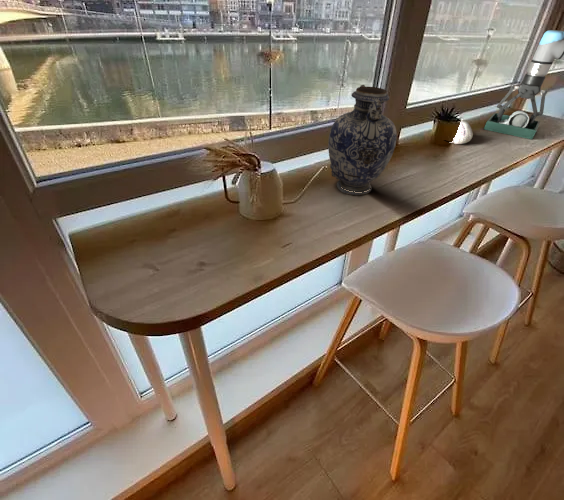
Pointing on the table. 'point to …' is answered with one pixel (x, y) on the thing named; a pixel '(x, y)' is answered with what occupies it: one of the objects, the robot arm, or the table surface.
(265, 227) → the table surface
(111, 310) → the table surface
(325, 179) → the table surface
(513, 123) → the ceramic mug
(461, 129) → the sea urchin shell
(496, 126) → the tray
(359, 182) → the decorative vase
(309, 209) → the table surface
